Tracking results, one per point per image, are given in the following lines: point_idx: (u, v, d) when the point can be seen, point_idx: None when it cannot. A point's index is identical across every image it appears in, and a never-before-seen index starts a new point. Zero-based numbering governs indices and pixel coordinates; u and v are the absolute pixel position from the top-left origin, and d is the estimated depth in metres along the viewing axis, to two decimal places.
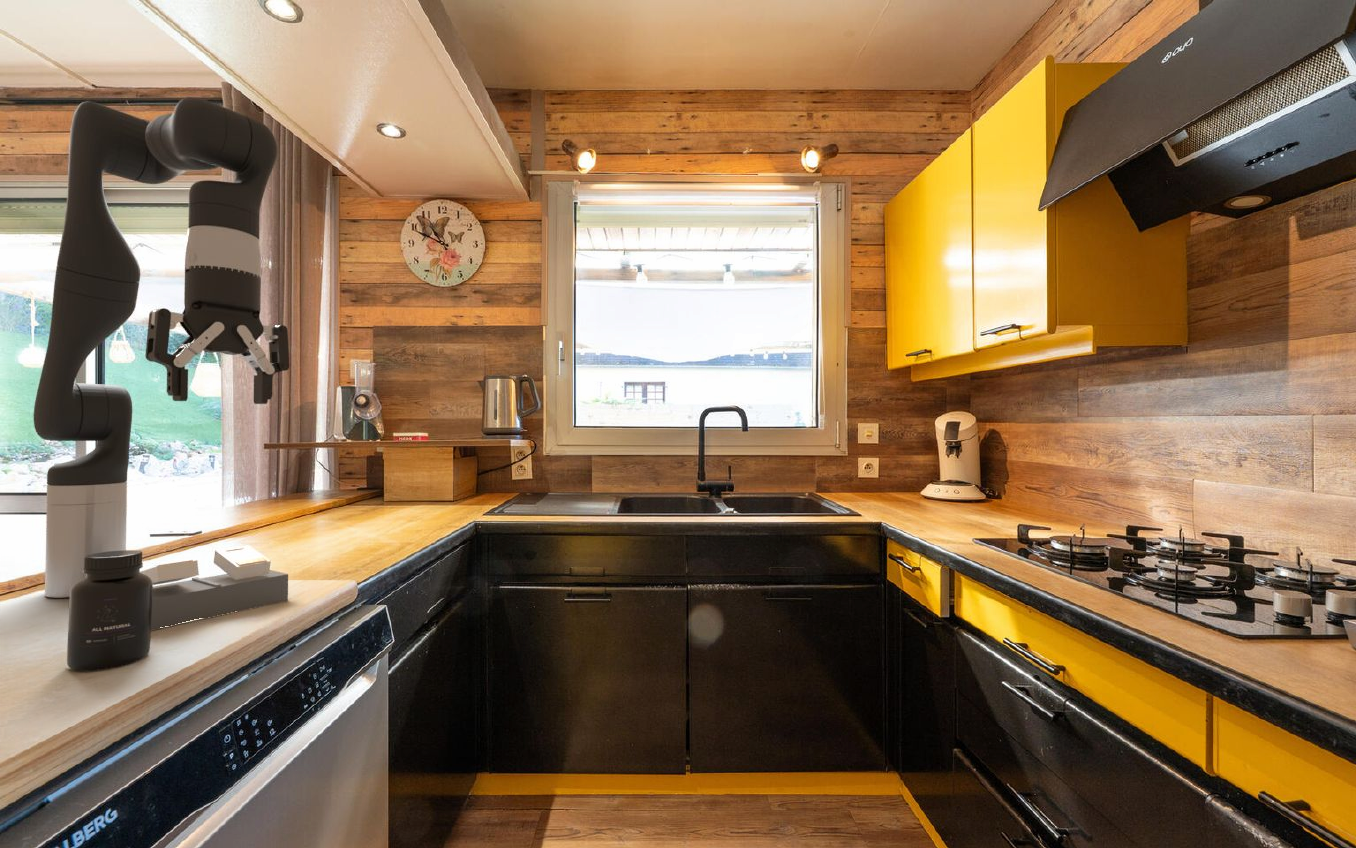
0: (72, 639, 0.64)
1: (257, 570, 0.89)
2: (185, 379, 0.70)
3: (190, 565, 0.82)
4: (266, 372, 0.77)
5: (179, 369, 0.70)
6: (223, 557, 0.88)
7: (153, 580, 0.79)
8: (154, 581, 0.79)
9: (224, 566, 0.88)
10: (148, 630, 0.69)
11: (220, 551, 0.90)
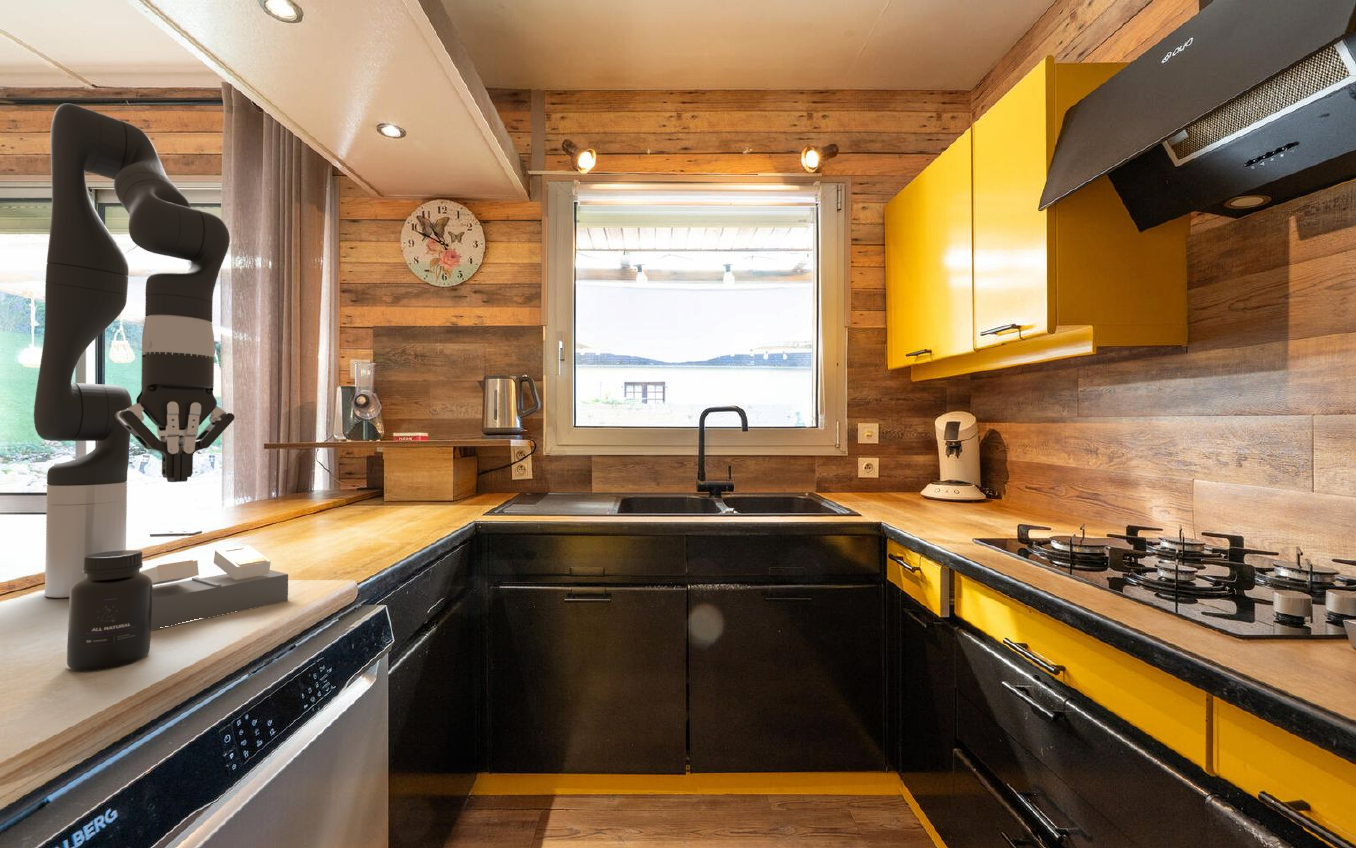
0: (72, 639, 0.64)
1: (257, 570, 0.89)
2: (178, 463, 0.81)
3: (190, 565, 0.82)
4: (184, 449, 0.81)
5: (172, 455, 0.80)
6: (223, 557, 0.88)
7: (153, 580, 0.79)
8: (154, 581, 0.79)
9: (224, 566, 0.88)
10: (148, 630, 0.69)
11: (220, 551, 0.90)
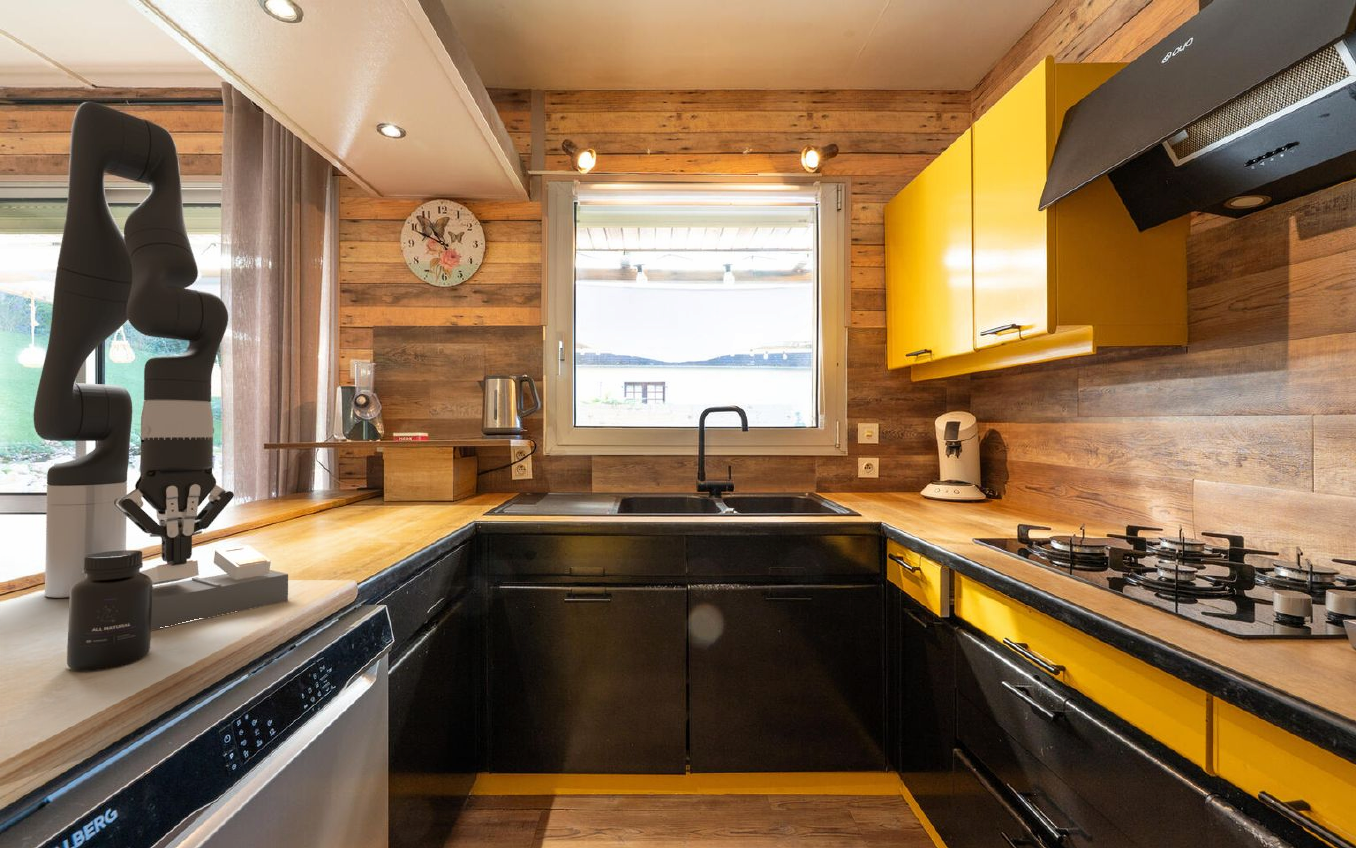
0: (72, 639, 0.64)
1: (257, 570, 0.89)
2: (178, 547, 0.80)
3: (190, 565, 0.82)
4: (183, 532, 0.81)
5: (172, 538, 0.80)
6: (223, 557, 0.88)
7: (153, 580, 0.79)
8: (154, 581, 0.79)
9: (224, 566, 0.88)
10: (148, 630, 0.69)
11: (220, 551, 0.90)
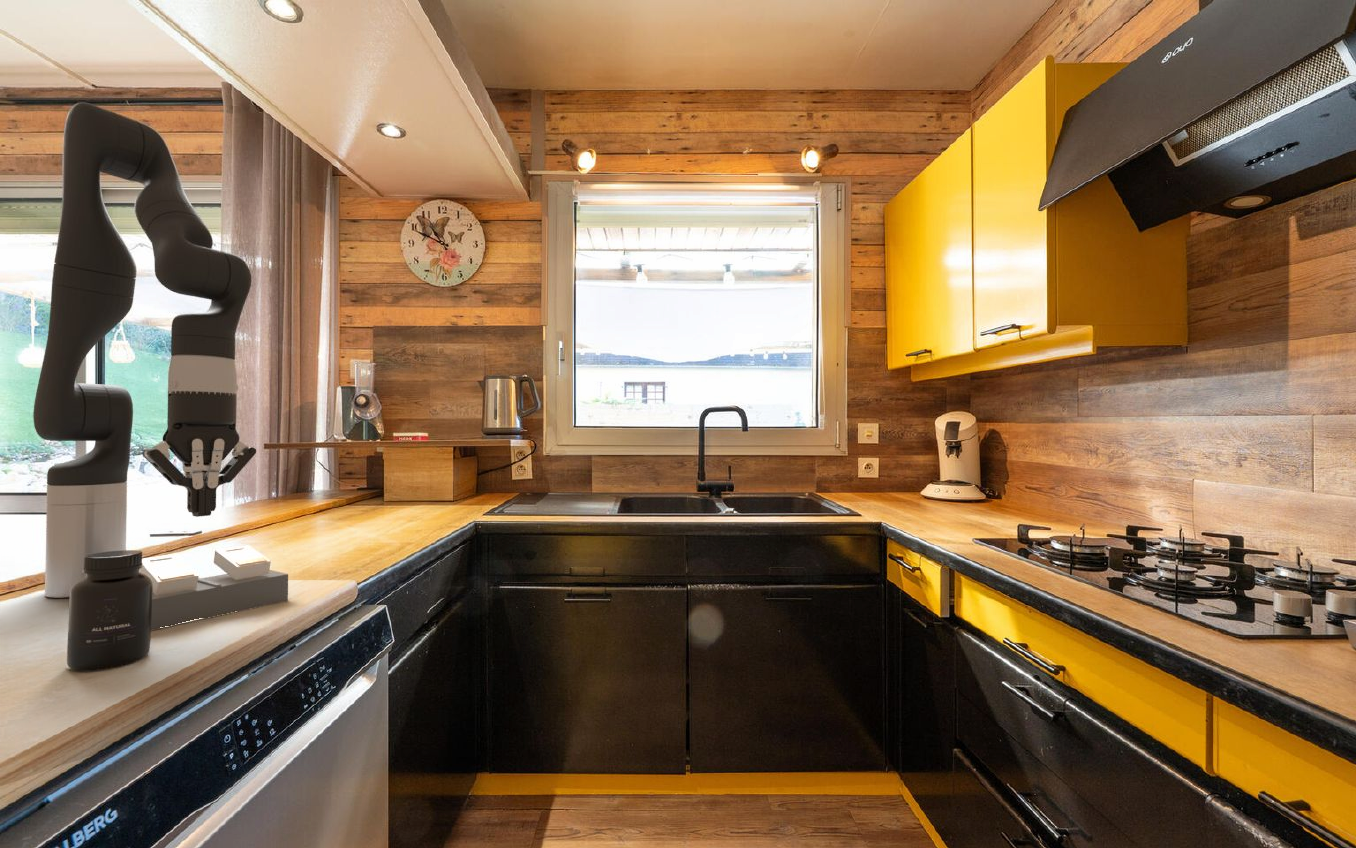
0: (72, 639, 0.64)
1: (257, 570, 0.89)
2: (203, 498, 0.83)
3: (190, 579, 0.82)
4: (208, 484, 0.83)
5: (197, 490, 0.83)
6: (223, 557, 0.88)
7: None
8: None
9: (224, 566, 0.88)
10: (148, 630, 0.69)
11: (220, 551, 0.90)
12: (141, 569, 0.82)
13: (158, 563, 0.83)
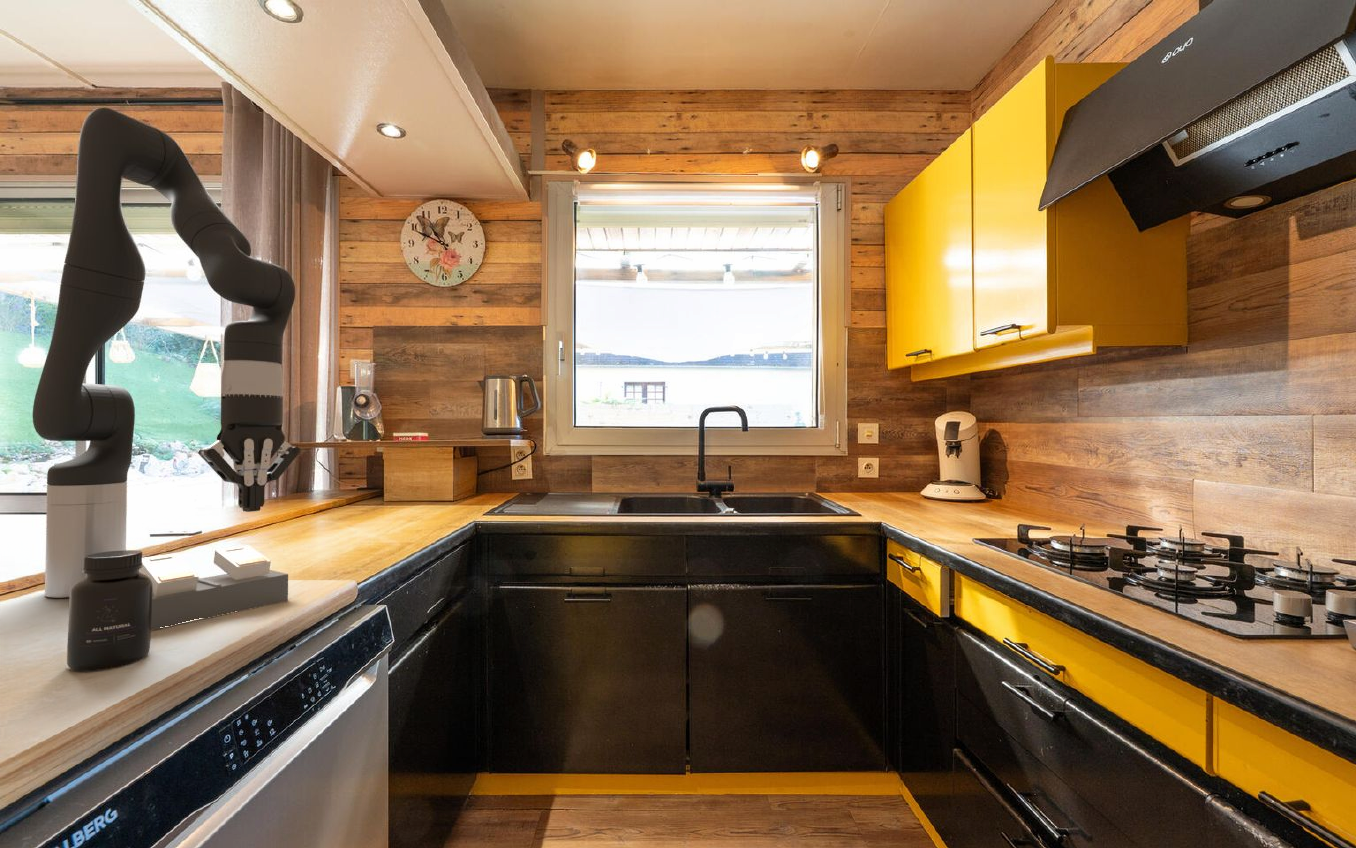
0: (72, 639, 0.64)
1: (257, 570, 0.89)
2: (253, 495, 0.88)
3: (190, 580, 0.82)
4: (258, 481, 0.89)
5: (248, 487, 0.88)
6: (223, 557, 0.88)
7: None
8: (152, 591, 0.80)
9: (224, 566, 0.88)
10: (148, 630, 0.69)
11: (220, 551, 0.90)
12: (141, 568, 0.81)
13: (159, 562, 0.82)
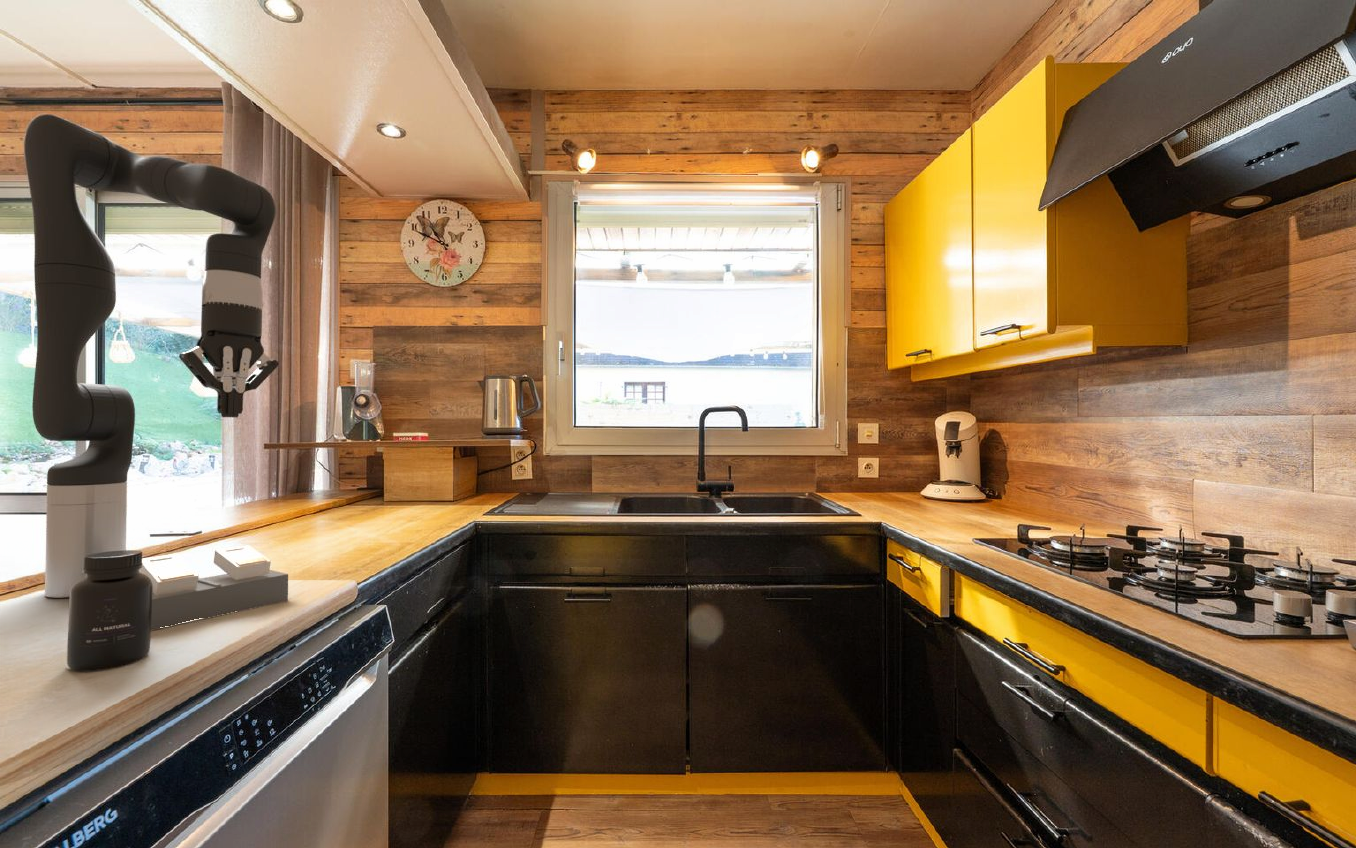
0: (72, 639, 0.64)
1: (257, 570, 0.89)
2: (232, 401, 0.92)
3: (190, 580, 0.82)
4: (236, 389, 0.93)
5: (227, 393, 0.92)
6: (223, 557, 0.88)
7: None
8: None
9: (224, 566, 0.88)
10: (148, 630, 0.69)
11: (220, 551, 0.90)
12: (141, 569, 0.82)
13: (158, 563, 0.83)
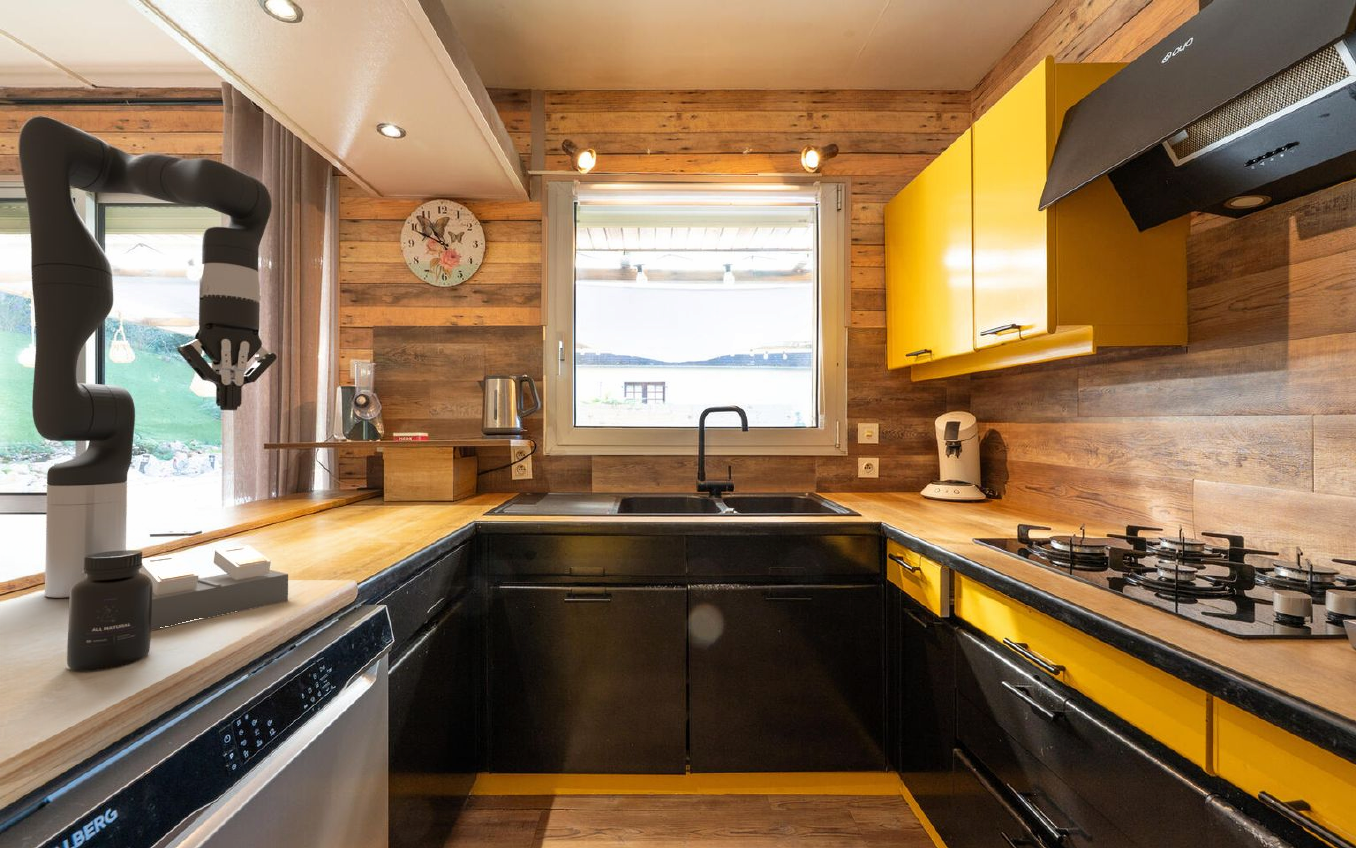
0: (72, 639, 0.64)
1: (257, 570, 0.89)
2: (230, 394, 0.92)
3: (190, 579, 0.82)
4: (235, 381, 0.93)
5: (225, 386, 0.92)
6: (223, 557, 0.88)
7: None
8: None
9: (224, 566, 0.88)
10: (148, 630, 0.69)
11: (220, 551, 0.90)
12: (141, 569, 0.82)
13: (158, 563, 0.83)
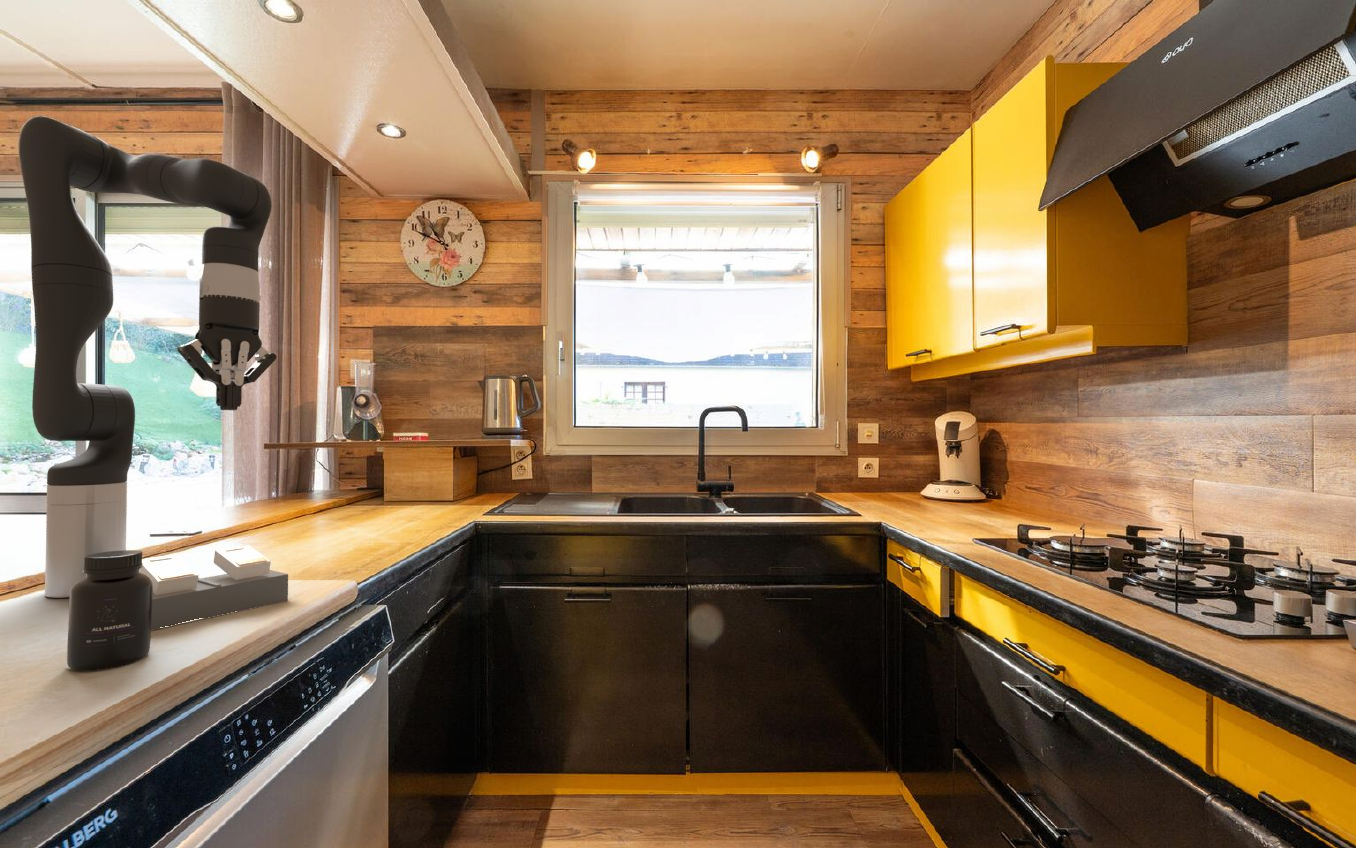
0: (72, 639, 0.64)
1: (257, 570, 0.89)
2: (230, 394, 0.92)
3: (190, 579, 0.82)
4: (235, 381, 0.93)
5: (225, 386, 0.92)
6: (223, 557, 0.88)
7: None
8: None
9: (224, 566, 0.88)
10: (148, 630, 0.69)
11: (220, 551, 0.90)
12: (141, 569, 0.82)
13: (158, 563, 0.83)
